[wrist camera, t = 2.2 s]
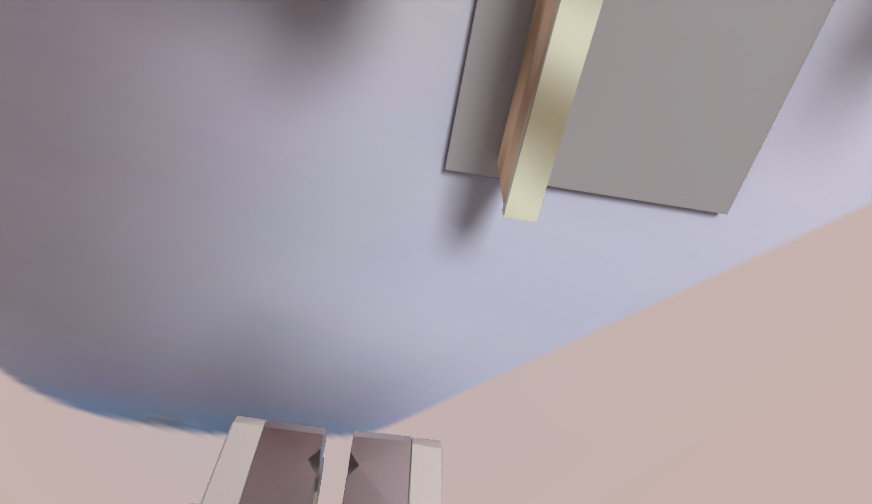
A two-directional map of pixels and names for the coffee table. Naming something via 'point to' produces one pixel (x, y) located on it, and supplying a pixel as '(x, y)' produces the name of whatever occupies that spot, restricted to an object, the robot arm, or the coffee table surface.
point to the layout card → (646, 94)
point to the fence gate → (543, 101)
